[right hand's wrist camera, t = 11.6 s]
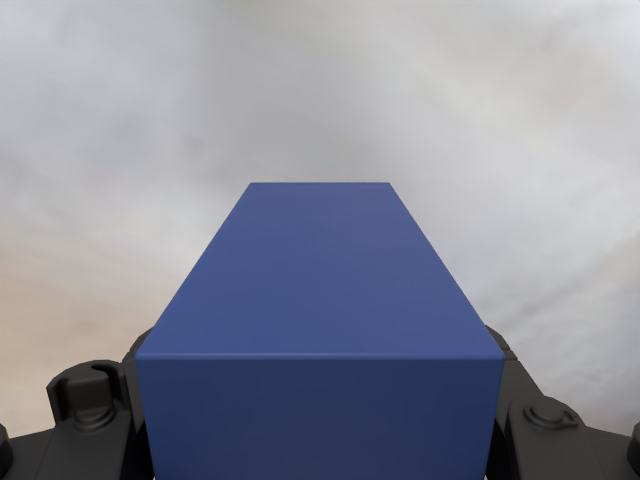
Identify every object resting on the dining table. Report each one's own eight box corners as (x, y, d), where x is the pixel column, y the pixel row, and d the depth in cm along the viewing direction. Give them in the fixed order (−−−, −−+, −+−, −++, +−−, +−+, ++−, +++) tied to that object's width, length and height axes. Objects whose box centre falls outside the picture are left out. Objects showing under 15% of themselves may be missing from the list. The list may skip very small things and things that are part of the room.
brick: (390, 181, 16) (507, 355, 6) (382, 324, 18) (459, 633, 8) (249, 182, 16) (131, 355, 6) (257, 325, 18) (180, 633, 8)
